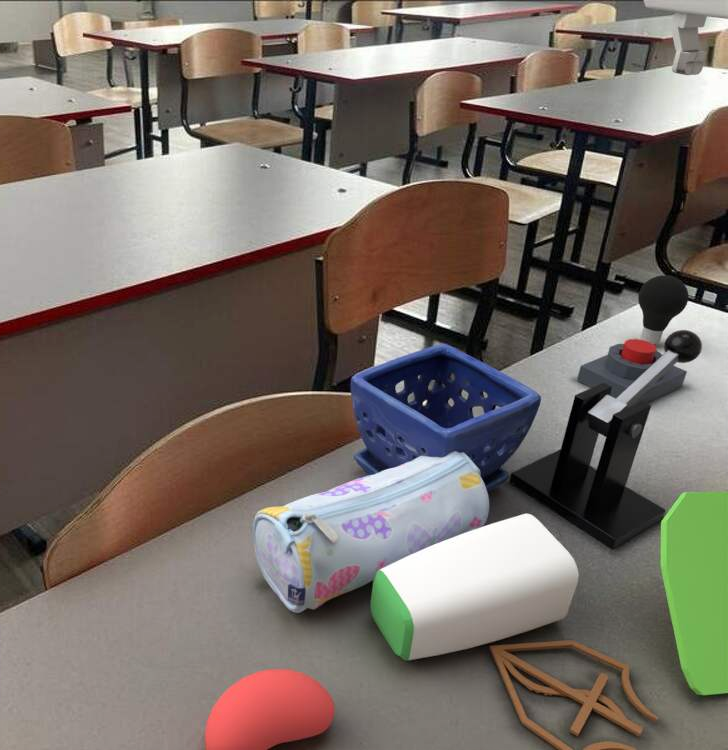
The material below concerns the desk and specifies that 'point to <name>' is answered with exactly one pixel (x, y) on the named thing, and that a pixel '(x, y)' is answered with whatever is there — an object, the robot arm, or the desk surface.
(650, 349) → the button
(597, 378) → the control box
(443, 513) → the pencil case
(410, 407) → the flower pot
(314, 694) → the stress ball
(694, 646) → the green stand with toy
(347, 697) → the desk surface
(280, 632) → the desk surface
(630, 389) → the switch lever
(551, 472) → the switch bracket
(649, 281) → the light bulb
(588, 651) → the emblem
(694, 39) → the robot arm
